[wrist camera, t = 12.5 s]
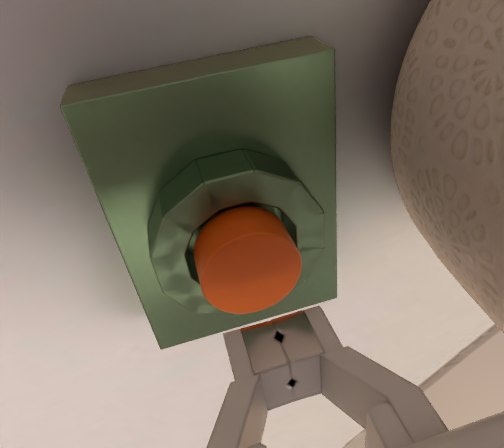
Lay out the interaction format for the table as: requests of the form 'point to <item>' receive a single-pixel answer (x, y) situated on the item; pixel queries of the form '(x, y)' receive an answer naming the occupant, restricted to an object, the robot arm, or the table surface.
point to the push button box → (213, 170)
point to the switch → (246, 260)
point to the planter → (456, 142)
